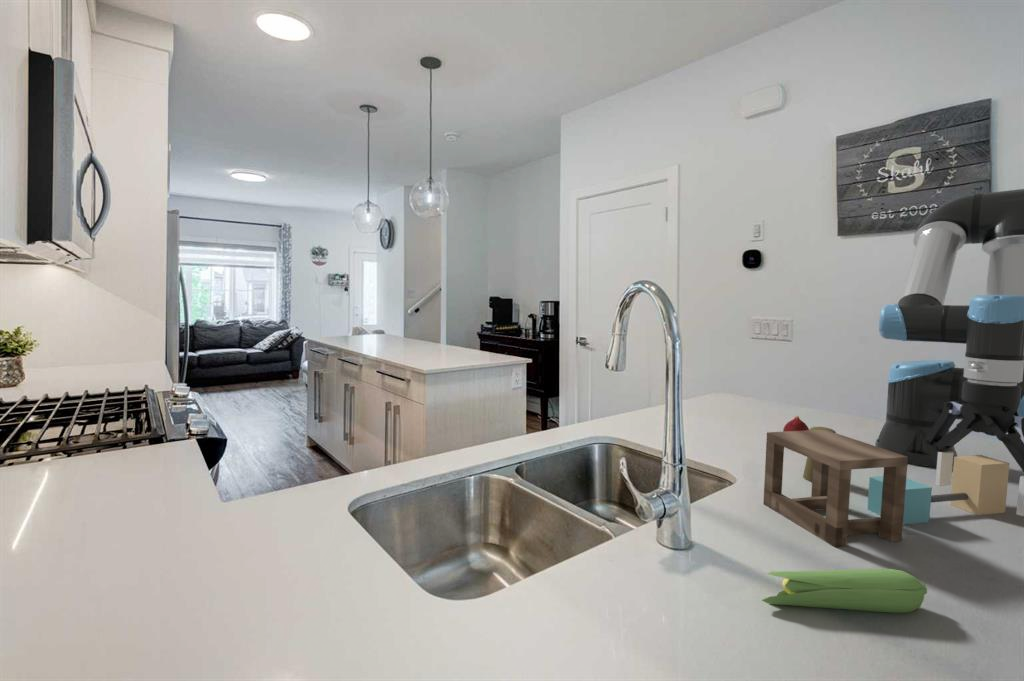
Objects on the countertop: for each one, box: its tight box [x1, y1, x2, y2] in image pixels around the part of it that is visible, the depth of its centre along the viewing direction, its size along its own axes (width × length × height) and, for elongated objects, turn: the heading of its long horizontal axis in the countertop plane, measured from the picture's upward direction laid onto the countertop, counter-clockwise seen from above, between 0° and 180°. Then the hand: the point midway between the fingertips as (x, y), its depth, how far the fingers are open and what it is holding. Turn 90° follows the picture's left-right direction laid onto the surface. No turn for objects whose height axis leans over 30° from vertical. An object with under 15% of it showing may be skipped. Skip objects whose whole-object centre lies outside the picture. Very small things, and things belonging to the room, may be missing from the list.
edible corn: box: [761, 568, 928, 614], centre depth 60 cm, size 5×20×5 cm
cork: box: [802, 426, 837, 483], centre depth 102 cm, size 6×6×11 cm
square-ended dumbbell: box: [867, 454, 1010, 525], centre depth 87 cm, size 23×6×9 cm, turn 100°
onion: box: [782, 415, 810, 432], centre depth 125 cm, size 6×6×8 cm
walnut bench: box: [763, 429, 909, 548], centre depth 83 cm, size 12×16×13 cm
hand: (981, 498), depth 89 cm, fingers open, 13 cm apart
